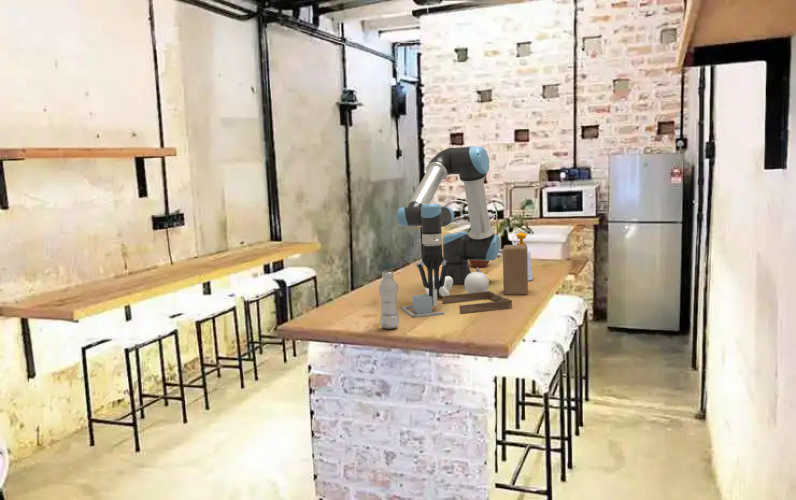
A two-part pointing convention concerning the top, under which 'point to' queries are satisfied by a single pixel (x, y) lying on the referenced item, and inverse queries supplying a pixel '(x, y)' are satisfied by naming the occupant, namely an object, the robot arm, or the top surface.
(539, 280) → the top surface
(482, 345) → the top surface
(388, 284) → the plastic bottle
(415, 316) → the corral
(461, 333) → the top surface
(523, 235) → the soap bottle
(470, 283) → the ornament
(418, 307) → the cube
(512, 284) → the wooden block
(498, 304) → the brown flat u-shaped frame
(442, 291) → the white lobed knot
